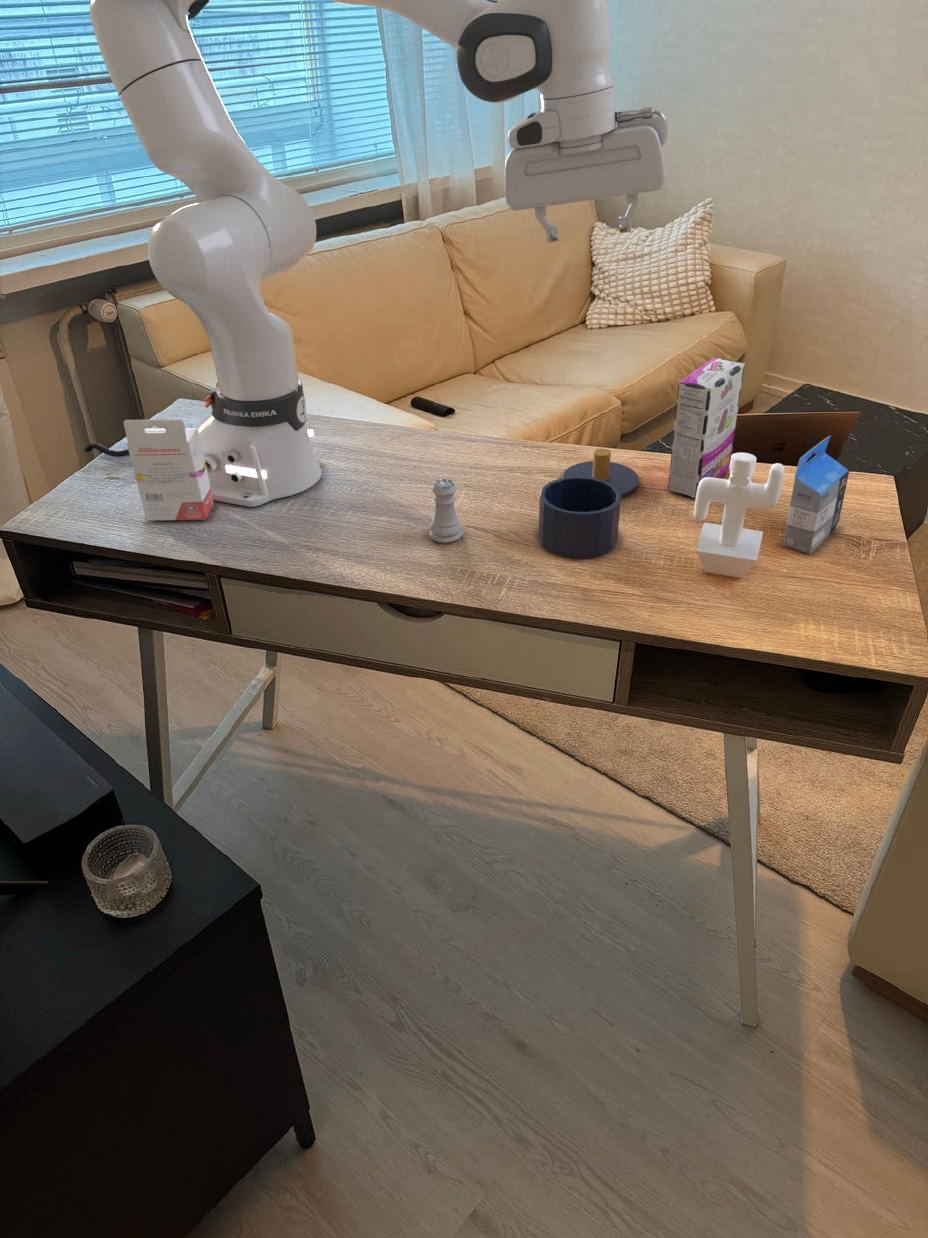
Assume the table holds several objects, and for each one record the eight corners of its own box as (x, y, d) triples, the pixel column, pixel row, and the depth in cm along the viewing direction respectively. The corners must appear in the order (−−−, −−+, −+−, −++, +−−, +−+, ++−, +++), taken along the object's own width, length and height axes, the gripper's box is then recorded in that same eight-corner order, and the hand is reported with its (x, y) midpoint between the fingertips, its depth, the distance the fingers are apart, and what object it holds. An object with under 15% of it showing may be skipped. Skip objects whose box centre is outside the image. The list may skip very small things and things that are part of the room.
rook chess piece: (459, 546, 120) (457, 491, 115) (425, 543, 121) (423, 488, 116) (466, 529, 123) (464, 475, 119) (433, 526, 124) (431, 472, 119)
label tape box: (810, 555, 116) (830, 466, 109) (779, 545, 118) (797, 457, 111) (838, 528, 121) (859, 442, 114) (808, 519, 123) (827, 433, 116)
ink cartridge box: (215, 503, 130) (195, 405, 122) (206, 520, 126) (185, 420, 118) (156, 504, 131) (132, 406, 122) (145, 521, 127) (119, 421, 118)
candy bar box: (698, 462, 138) (713, 355, 129) (730, 471, 136) (747, 362, 126) (664, 491, 131) (677, 380, 121) (696, 500, 128) (712, 388, 119)
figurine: (691, 545, 118) (707, 437, 110) (767, 558, 116) (789, 448, 107) (682, 574, 113) (697, 463, 104) (761, 588, 110) (783, 474, 102)
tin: (534, 555, 117) (535, 510, 114) (543, 517, 126) (545, 474, 122) (614, 562, 116) (618, 516, 112) (619, 522, 124) (622, 479, 120)
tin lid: (558, 499, 130) (559, 466, 127) (565, 465, 138) (567, 433, 135) (637, 504, 128) (640, 471, 125) (639, 469, 137) (642, 438, 134)
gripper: (665, 100, 113) (669, 219, 120) (502, 127, 117) (516, 240, 125) (666, 107, 108) (670, 231, 115) (495, 135, 112) (510, 252, 120)
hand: (589, 236), depth 120 cm, fingers open, 8 cm apart
